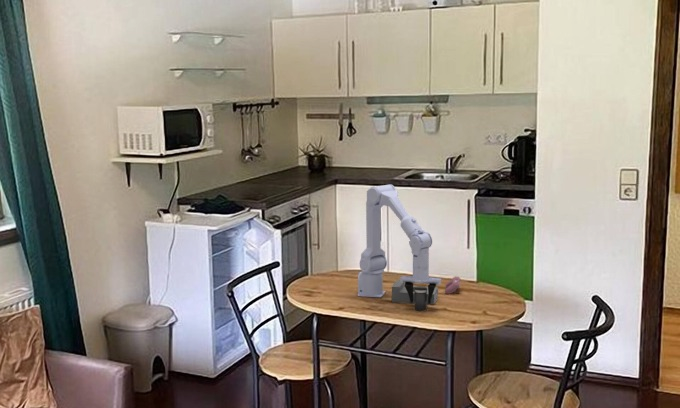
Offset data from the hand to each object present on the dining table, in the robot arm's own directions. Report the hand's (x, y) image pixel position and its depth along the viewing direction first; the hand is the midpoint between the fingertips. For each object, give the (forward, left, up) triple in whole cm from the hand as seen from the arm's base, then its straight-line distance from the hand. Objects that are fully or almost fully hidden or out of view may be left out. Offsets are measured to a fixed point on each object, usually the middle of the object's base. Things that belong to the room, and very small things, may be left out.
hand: (420, 302), depth 253 cm
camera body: (-4, +11, -2) cm, 12 cm away
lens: (0, 0, -2) cm, 2 cm away
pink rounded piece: (+8, +26, -3) cm, 27 cm away
